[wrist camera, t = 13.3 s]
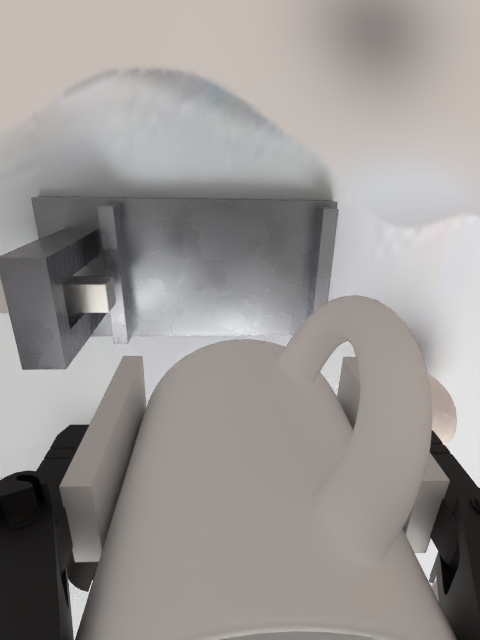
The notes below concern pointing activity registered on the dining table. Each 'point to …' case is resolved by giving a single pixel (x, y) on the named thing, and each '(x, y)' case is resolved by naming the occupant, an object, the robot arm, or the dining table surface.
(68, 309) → the lever
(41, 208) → the dock
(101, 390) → the dining table surface
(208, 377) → the mug
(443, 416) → the egg
